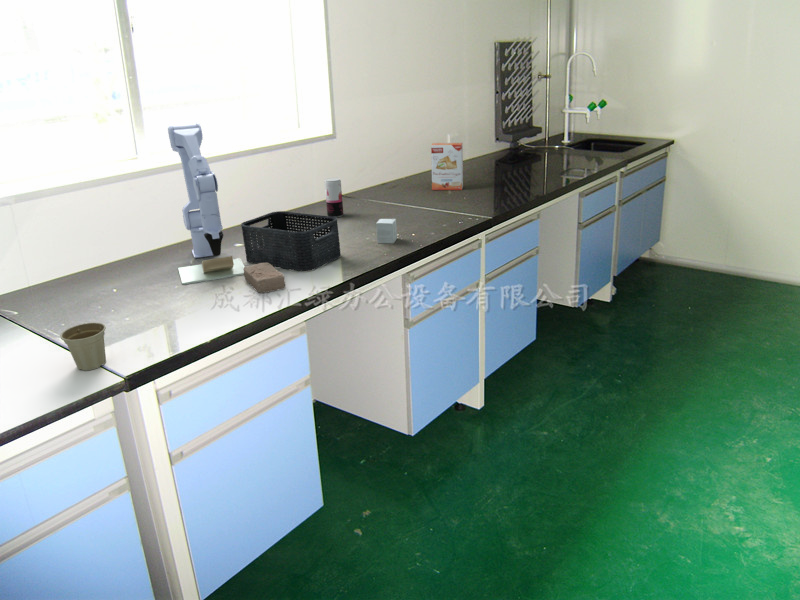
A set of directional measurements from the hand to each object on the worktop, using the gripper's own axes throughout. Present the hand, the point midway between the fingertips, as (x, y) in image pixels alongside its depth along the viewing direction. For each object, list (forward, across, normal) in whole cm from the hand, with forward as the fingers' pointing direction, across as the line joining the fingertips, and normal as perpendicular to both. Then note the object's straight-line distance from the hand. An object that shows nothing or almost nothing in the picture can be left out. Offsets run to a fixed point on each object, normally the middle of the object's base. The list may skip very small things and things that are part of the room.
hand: (216, 255), depth 208 cm
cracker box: (+6, -67, +113) cm, 131 cm away
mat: (+5, -1, -2) cm, 6 cm away
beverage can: (+6, -48, +53) cm, 72 cm away
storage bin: (+6, -1, +24) cm, 25 cm away
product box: (+6, -4, +59) cm, 59 cm away
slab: (+3, 0, 0) cm, 4 cm away
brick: (+6, +18, +11) cm, 22 cm away
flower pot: (+6, +53, -36) cm, 64 cm away
